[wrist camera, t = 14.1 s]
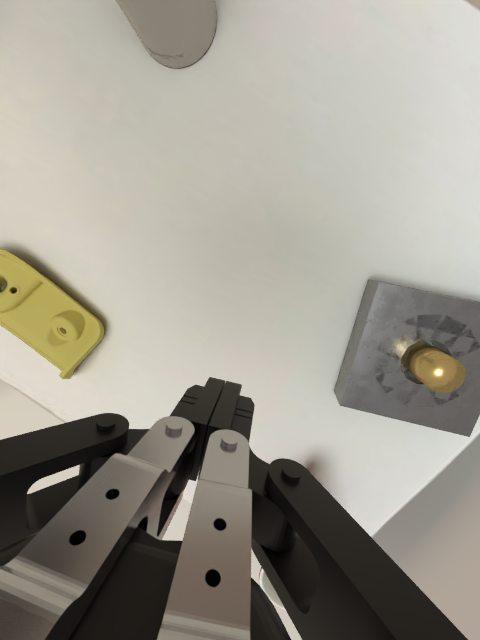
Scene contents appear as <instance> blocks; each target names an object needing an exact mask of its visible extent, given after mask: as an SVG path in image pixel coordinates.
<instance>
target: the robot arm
mask: <svg viewBox="0 0 480 640" xmlns="http://www.w3.org/2000/svg"><path fill="white" fill-rule="evenodd" d="M116 2H117V3H118V5H119V6H120V8H121V9H122V11H123V13H124V14H125V16H126V17H127V19H128V21H129V22H130V24H131V25H132V27H133V29H134V30H135V32H136V33H137V35H138V36H139V38H140V40H141V41H142V43H143V44H144V46H145V47H146V49H147V50H148V52H149V53H150V55H151V56H152V57H153V58H154V59H155V60H156V61H157V62H159V63H161V64H163V65H164V66H168V67H171V68H182V67H186V66H189V65H191V64H193V63H195V62H196V61H198V60H199V59H200V58H201V57H202V56H203V55H204V54H205V52H206V51H207V50H208V48H209V46H210V44H211V42H212V40H213V37H214V34H215V30H216V23H217V13H216V6H215V2H214V0H116ZM241 387H242V385H241V384H237V383H233V382H229V381H226V383H225V381H224V380H220V379H216V378H212V377H209V379H208V381H207V383H206V385H205V386H204V387H203V386H199V385H194V386H192V387H190V388H189V389H187V391H186V392H185V394H184V396H183V397H182V398H181V400H180V401H179V403H178V404H177V406H176V407H175V409H174V410H173V412H172V413H171V415H170V416H169V417H164V418H162V419H159V420H158V421H157V422H156V423H155V424H154V425H153V426H152V427H151V428H150V429H129V422H128V420H127V419H126V418H125V417H123V416H121V415H119V414H114V413H104V414H98V415H95V416H91V417H87V418H83V419H79V420H75V421H72V422H68V423H64V424H60V425H57V426H52V427H48V428H45V429H41V430H37V431H33V432H29V433H25V434H22V435H18V436H14V437H10V438H6V439H2V440H0V640H291V639H290V637H289V635H288V633H287V631H286V629H285V627H284V625H283V623H282V621H281V619H280V617H279V615H278V613H277V611H276V609H275V608H274V605H273V604H272V602H271V601H270V599H269V598H268V596H267V595H266V593H265V592H264V591H263V590H262V588H261V587H260V586H259V585H258V584H257V583H256V582H255V581H254V580H253V579H252V578H251V547H252V550H253V552H254V554H255V555H256V558H257V559H258V561H259V563H260V565H261V566H262V568H263V570H264V572H265V574H266V575H267V577H268V579H269V581H270V583H271V584H272V586H273V588H274V590H275V591H276V593H277V595H278V597H279V599H280V600H281V602H282V604H283V606H284V608H285V609H286V611H287V613H288V615H289V617H290V618H291V620H292V622H293V624H294V625H295V627H296V629H297V631H298V633H299V634H300V636H301V638H302V640H468V639H467V638H466V637H465V636H464V635H463V634H462V633H461V632H460V631H459V630H458V629H457V628H456V627H455V626H454V625H453V623H452V622H451V621H450V620H449V619H448V618H447V617H446V616H445V615H444V614H443V613H442V612H441V611H440V610H439V609H438V608H437V607H436V605H435V604H434V603H433V602H432V601H431V600H430V599H429V598H428V597H427V596H426V595H425V594H424V593H423V592H422V591H421V590H420V589H419V587H418V586H416V584H415V583H414V582H413V581H412V580H411V579H410V578H409V577H408V576H407V575H406V574H405V573H404V572H403V571H402V569H400V567H399V566H398V565H397V564H396V563H395V562H394V561H393V560H392V559H391V558H390V557H389V556H388V555H387V554H386V553H385V552H384V550H382V549H381V547H380V546H379V545H378V544H377V543H376V542H375V541H374V540H373V539H372V538H371V537H370V536H369V535H368V534H367V532H366V531H365V530H364V529H363V528H362V527H361V526H360V525H359V524H358V523H357V522H356V521H355V520H354V519H353V518H352V517H351V516H350V515H349V513H348V512H347V511H346V510H345V509H344V508H343V507H342V506H341V505H340V504H339V503H338V502H337V501H336V500H335V499H334V498H333V497H332V495H331V494H330V493H329V492H328V491H327V490H326V489H325V488H324V487H323V486H322V485H321V484H320V483H319V482H318V481H317V480H316V479H315V477H314V476H313V475H312V474H311V473H310V472H309V471H308V470H307V469H306V468H305V467H304V466H302V465H301V464H299V463H298V462H295V461H293V460H290V459H284V458H283V459H276V460H274V461H273V462H271V464H268V463H266V462H264V461H262V460H261V459H259V458H258V457H257V456H256V455H255V454H254V453H253V452H252V450H251V449H250V446H249V438H250V432H251V425H252V418H253V412H254V403H253V401H252V400H251V398H248V397H244V396H240V391H241ZM77 465H80V470H79V475H78V476H75V477H72V478H70V479H67V480H65V481H62V482H59V483H57V484H54V485H52V486H49V487H46V488H44V489H41V490H39V491H36V492H34V493H31V494H27V491H28V489H29V488H30V487H31V486H32V484H34V483H35V482H36V481H38V480H39V479H41V478H44V477H46V476H49V475H52V474H55V473H57V472H60V471H63V470H66V469H68V468H71V467H74V466H77ZM199 471H200V472H199ZM198 473H199V477H198V482H197V486H196V490H195V494H194V498H193V502H192V506H191V510H190V514H189V518H188V522H187V526H186V530H185V534H184V538H183V541H164V540H162V538H163V536H164V534H165V532H166V530H167V528H168V526H169V524H170V522H171V520H172V518H173V515H174V513H175V512H176V509H177V507H178V505H179V503H180V501H181V499H182V496H183V491H184V489H185V487H186V485H187V482H188V480H189V479H190V480H194V481H196V479H197V476H198ZM300 538H301V539H300ZM303 542H304V543H303ZM308 549H309V550H308ZM311 553H312V554H311Z"/></svg>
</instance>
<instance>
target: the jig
mask: <svg viewBox="0 0 480 640" xmlns="http://www.w3.org/2000/svg"><path fill="white" fill-rule="evenodd" d="M420 340H431V341H432V343H433V345H434V347H435V348H437V349H438V350H440V351H442V352H444V353H445V354H447V355H449V356H451V357H452V358H454V359H456V360H458V361H459V362H460V363H461V364H462V365H463V366H464V368H465V373H466V374H465V379H464V382H463V383H462V385H461V386H460V387H459V388H457V389H456V390H454V391H452V392H449V393H438V392H435V391H433V390H431V389H430V388H428V387H427V386H426V385H425V384H424V383H423V382H421V381H420V380H419V379H418V378H417V377H416V376H414V375H413V374H412V373H411V372H410V371H402V370H401V357H402V355H403V354H404V352H405V351H406V349H407V348H408V347H409V346H410V345H412V344H414V343H416V342H418V341H420ZM334 392H335V395H336V397H337V400H338V402H339V404H340V406H344V407H348V408H352V409H356V410H361V411H365V412H369V413H373V414H377V415H381V416H385V417H390V418H394V419H398V420H402V421H406V422H410V423H414V424H418V425H423V426H427V427H431V428H435V429H439V430H443V431H447V432H452V433H456V434H460V435H464V436H468V437H470V435H471V433H472V430H473V428H474V426H475V424H476V422H477V419H478V417H479V415H480V302H475V301H470V300H465V299H460V298H455V297H451V296H446V295H441V294H436V293H431V292H426V291H421V290H417V289H412V288H407V287H402V286H397V285H392V284H388V283H383V282H378V281H373V280H368V282H367V285H366V288H365V292H364V295H363V298H362V301H361V305H360V308H359V311H358V314H357V318H356V321H355V324H354V327H353V331H352V334H351V337H350V340H349V344H348V347H347V350H346V353H345V357H344V360H343V363H342V366H341V370H340V373H339V376H338V380H337V383H336V386H335V389H334Z"/></svg>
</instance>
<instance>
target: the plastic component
mask: <svg viewBox="0 0 480 640" xmlns="http://www.w3.org/2000/svg"><path fill="white" fill-rule="evenodd" d="M5 282H7V287H6V289H5V290H4V291H3V292H2V291H1V287H2V285H3V284H4V283H5ZM0 325H1V326H3V327H4V328H5V329H7V330H8V331H10V332H11V333H12V334H14V335H15V336H17V337H18V338H19V339H21V340H22V341H23V342H25V343H26V344H27V345H29V346H30V347H31V348H33V349H34V350H35V351H37V352H38V353H39V354H40V355H42V356H43V357H44V358H46V359H47V360H48V361H50V362H51V363H52V364H54V365H55V366H56V367H58V368H59V369H60V370H61V371H62V372H61V373H60V375H59V376H60V377H61V378H62V379H70V378H71V377H72V376H73V374H74V370H75V368H76V367H77V366H78V365H79V364H80V363H81V362H82V361H83V360H84V359H85V358H86V357H87V355H88V354H89V353H90V352H91V351H92V350H93V349H94V348H95V347H96V346H97V345H98V344H99V343H100V341H101V340H102V338H103V336H104V326H103V324H102V322H101V321H100V320H99V319H98V318H97V317H95V316H94V315H93V314H92V313H90V312H89V311H88V310H87V309H85V308H84V307H83V306H82V305H80V304H79V303H78V302H77V301H75V300H74V299H73V298H72V297H70V296H69V295H68V294H67V293H65V292H64V291H63V290H62V289H60V288H59V287H58V286H57V285H55V284H54V283H53V282H52V281H50V280H49V279H48V278H46V277H44V276H43V275H42V274H40V273H39V272H38V271H37V270H35V269H34V268H33V267H31V266H30V265H28V264H27V263H25V262H24V261H22V260H21V259H19V258H18V257H16V256H14V255H13V254H11V253H9V252H7V251H5V250H2V249H0ZM63 328H64V329H65V330H66V331H64V329H63Z"/></svg>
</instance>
